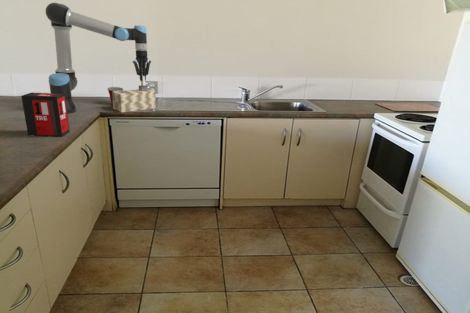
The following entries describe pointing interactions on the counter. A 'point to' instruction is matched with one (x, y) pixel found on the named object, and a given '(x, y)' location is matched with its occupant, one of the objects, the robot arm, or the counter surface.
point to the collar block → (133, 100)
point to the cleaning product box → (46, 114)
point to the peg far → (143, 88)
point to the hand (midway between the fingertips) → (143, 85)
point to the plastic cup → (113, 90)
